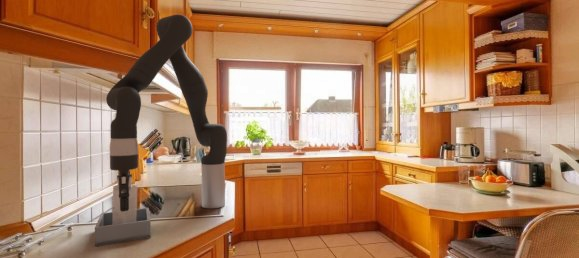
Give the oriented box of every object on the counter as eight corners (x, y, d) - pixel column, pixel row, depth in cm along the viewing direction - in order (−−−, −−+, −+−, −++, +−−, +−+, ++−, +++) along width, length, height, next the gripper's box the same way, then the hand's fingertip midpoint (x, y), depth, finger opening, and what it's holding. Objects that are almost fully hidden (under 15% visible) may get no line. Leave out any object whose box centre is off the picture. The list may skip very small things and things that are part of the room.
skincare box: (111, 226, 90) (111, 185, 90) (126, 221, 94) (125, 183, 94) (123, 229, 87) (123, 187, 87) (138, 224, 91) (137, 185, 90)
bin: (101, 229, 94) (101, 213, 94) (148, 222, 100) (148, 207, 100) (95, 246, 80) (94, 227, 80) (150, 237, 86) (150, 220, 86)
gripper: (138, 154, 85) (139, 212, 86) (138, 151, 98) (138, 201, 98) (107, 156, 82) (108, 215, 82) (111, 152, 95) (112, 203, 95)
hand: (125, 207), depth 90 cm, fingers closed on skincare box, 7 cm apart
